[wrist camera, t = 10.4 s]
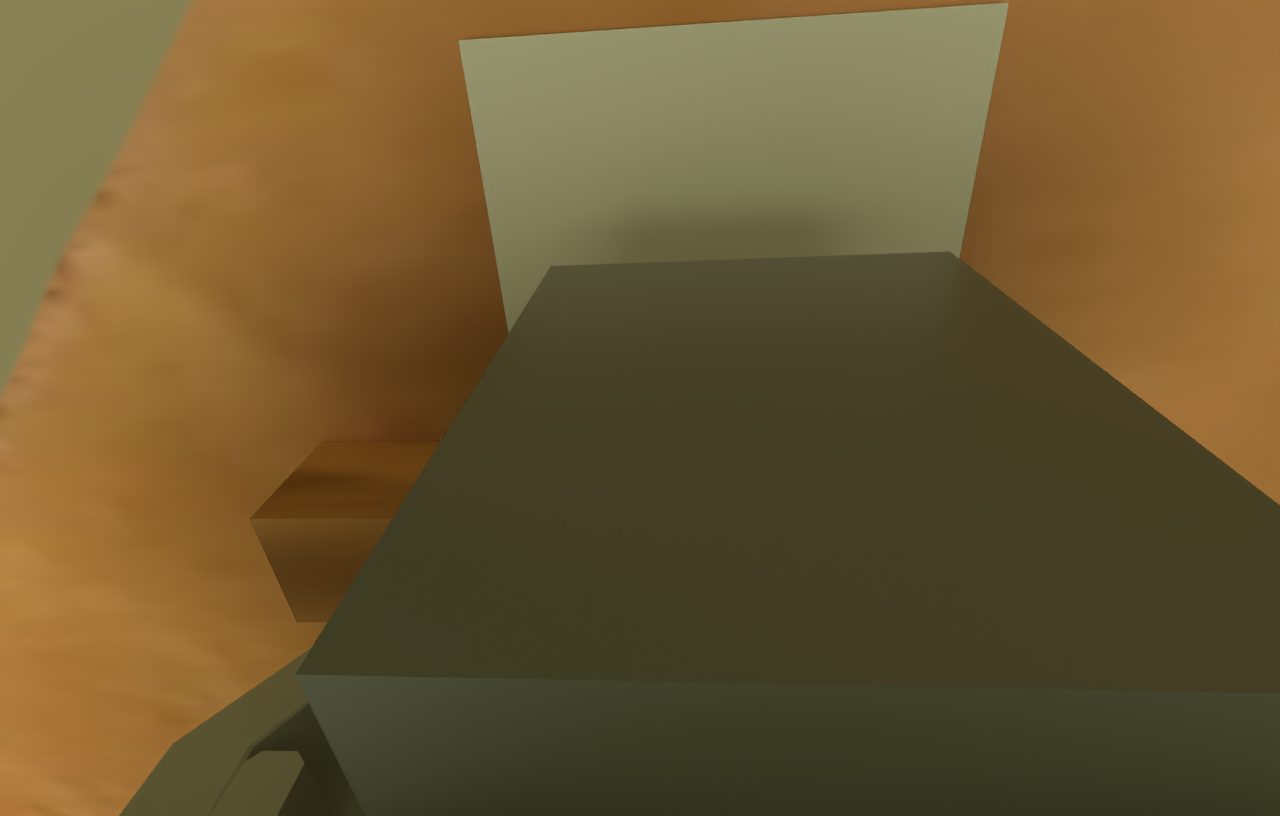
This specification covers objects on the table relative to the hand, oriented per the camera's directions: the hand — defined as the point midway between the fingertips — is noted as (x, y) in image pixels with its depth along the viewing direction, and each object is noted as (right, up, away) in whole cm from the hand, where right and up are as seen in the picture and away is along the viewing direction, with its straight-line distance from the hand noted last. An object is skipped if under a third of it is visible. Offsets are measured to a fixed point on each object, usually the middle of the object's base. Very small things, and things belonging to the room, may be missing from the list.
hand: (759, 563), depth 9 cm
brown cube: (-10, -1, +13) cm, 16 cm away
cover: (0, +2, +3) cm, 4 cm away
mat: (+1, +5, +9) cm, 10 cm away
